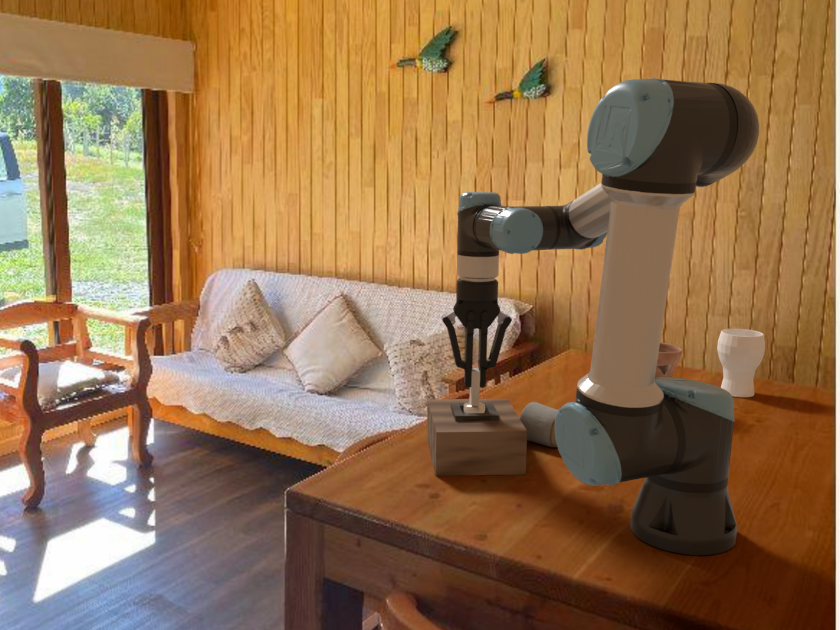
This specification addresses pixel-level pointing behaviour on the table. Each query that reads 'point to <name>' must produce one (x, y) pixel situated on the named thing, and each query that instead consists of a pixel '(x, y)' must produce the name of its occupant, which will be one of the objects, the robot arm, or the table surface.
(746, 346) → the cup
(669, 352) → the ceramic jug
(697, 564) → the table surface
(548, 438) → the ceramic mug
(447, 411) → the socket block
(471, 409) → the peg
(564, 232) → the robot arm
